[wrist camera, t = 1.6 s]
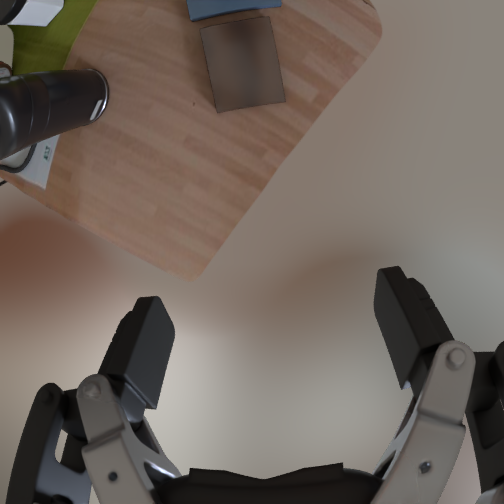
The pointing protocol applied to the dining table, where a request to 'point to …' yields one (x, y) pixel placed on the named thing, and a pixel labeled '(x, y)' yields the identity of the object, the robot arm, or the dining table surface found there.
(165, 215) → the dining table surface
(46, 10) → the jar
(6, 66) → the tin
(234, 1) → the stand
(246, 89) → the pad
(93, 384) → the robot arm
